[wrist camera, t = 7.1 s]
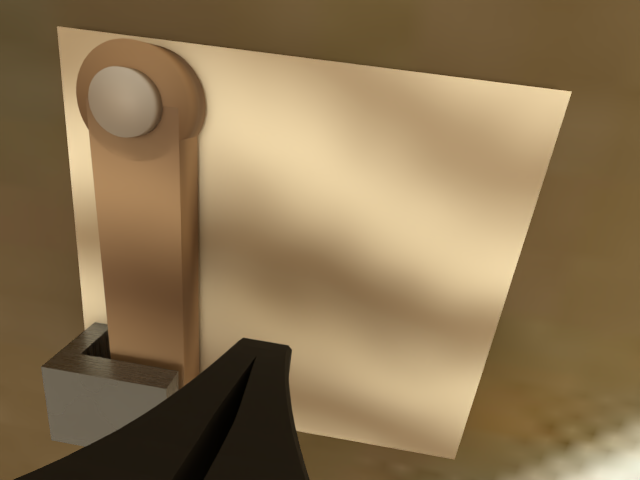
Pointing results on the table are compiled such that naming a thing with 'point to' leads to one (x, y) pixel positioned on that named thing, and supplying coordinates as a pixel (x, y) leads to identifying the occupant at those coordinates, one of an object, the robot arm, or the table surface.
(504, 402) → the table surface
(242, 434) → the robot arm
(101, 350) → the keeper
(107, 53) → the link
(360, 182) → the latch board
